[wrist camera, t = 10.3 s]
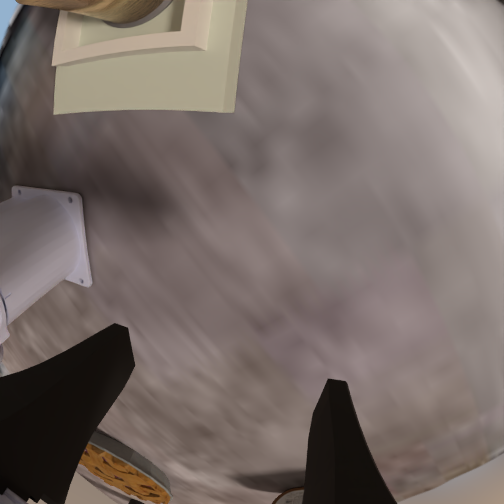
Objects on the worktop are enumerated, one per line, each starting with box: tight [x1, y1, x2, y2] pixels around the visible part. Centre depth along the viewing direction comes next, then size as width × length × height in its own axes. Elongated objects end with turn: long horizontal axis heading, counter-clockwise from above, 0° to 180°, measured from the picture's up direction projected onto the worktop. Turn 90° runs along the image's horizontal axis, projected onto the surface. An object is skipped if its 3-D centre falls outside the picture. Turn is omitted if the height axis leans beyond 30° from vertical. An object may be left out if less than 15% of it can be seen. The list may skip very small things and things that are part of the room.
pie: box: [79, 431, 173, 504], centre depth 40 cm, size 22×22×5 cm
